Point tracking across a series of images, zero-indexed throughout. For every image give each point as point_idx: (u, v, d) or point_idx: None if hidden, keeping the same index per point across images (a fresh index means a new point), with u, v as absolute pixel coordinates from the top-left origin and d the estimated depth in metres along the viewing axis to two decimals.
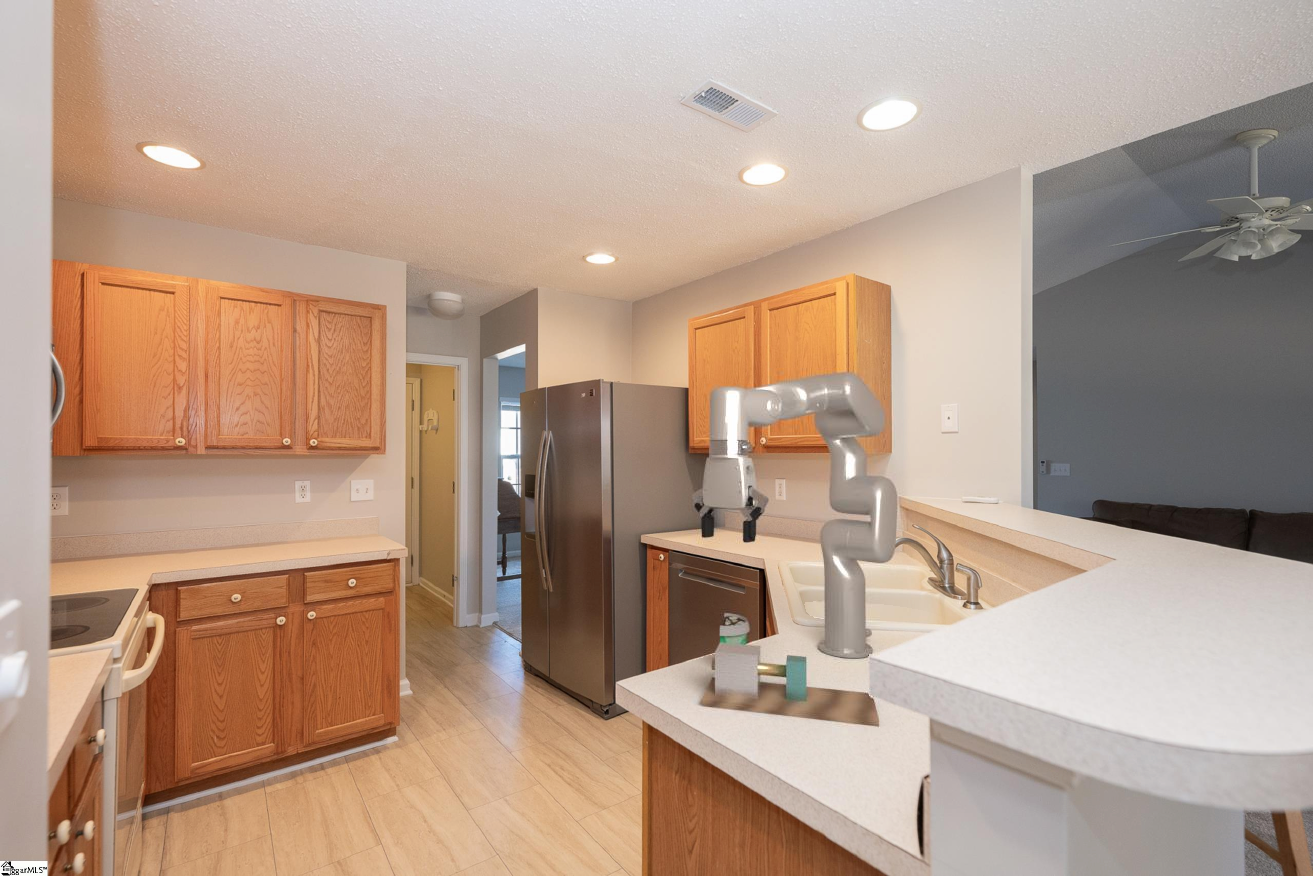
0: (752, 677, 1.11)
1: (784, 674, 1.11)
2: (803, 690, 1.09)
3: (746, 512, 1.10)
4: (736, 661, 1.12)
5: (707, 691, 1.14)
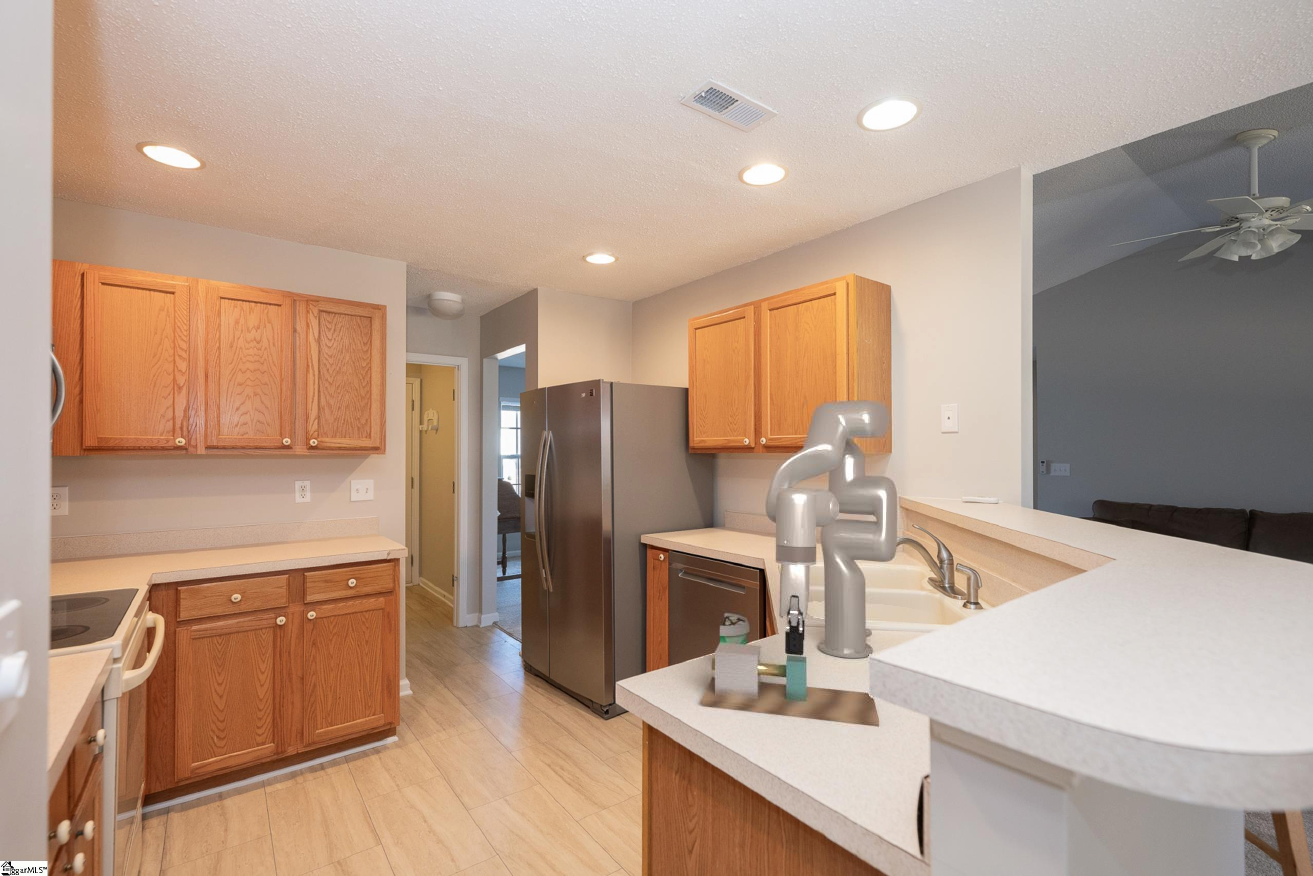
0: (752, 677, 1.11)
1: (784, 674, 1.11)
2: (803, 690, 1.09)
3: None
4: (736, 661, 1.12)
5: (707, 691, 1.14)
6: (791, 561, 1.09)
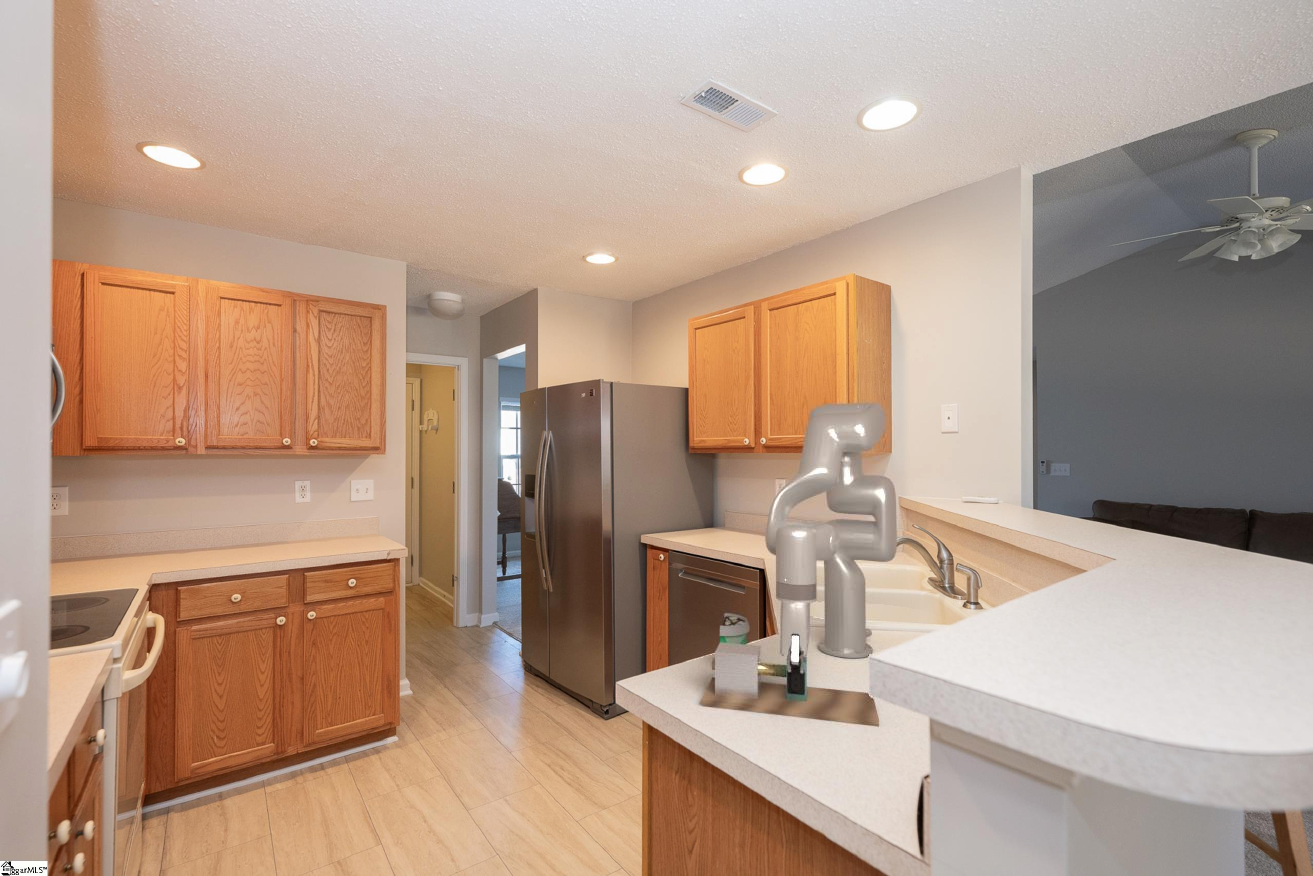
0: (752, 677, 1.11)
1: (784, 674, 1.11)
2: None
3: None
4: (736, 661, 1.12)
5: (707, 691, 1.14)
6: (791, 599, 1.09)
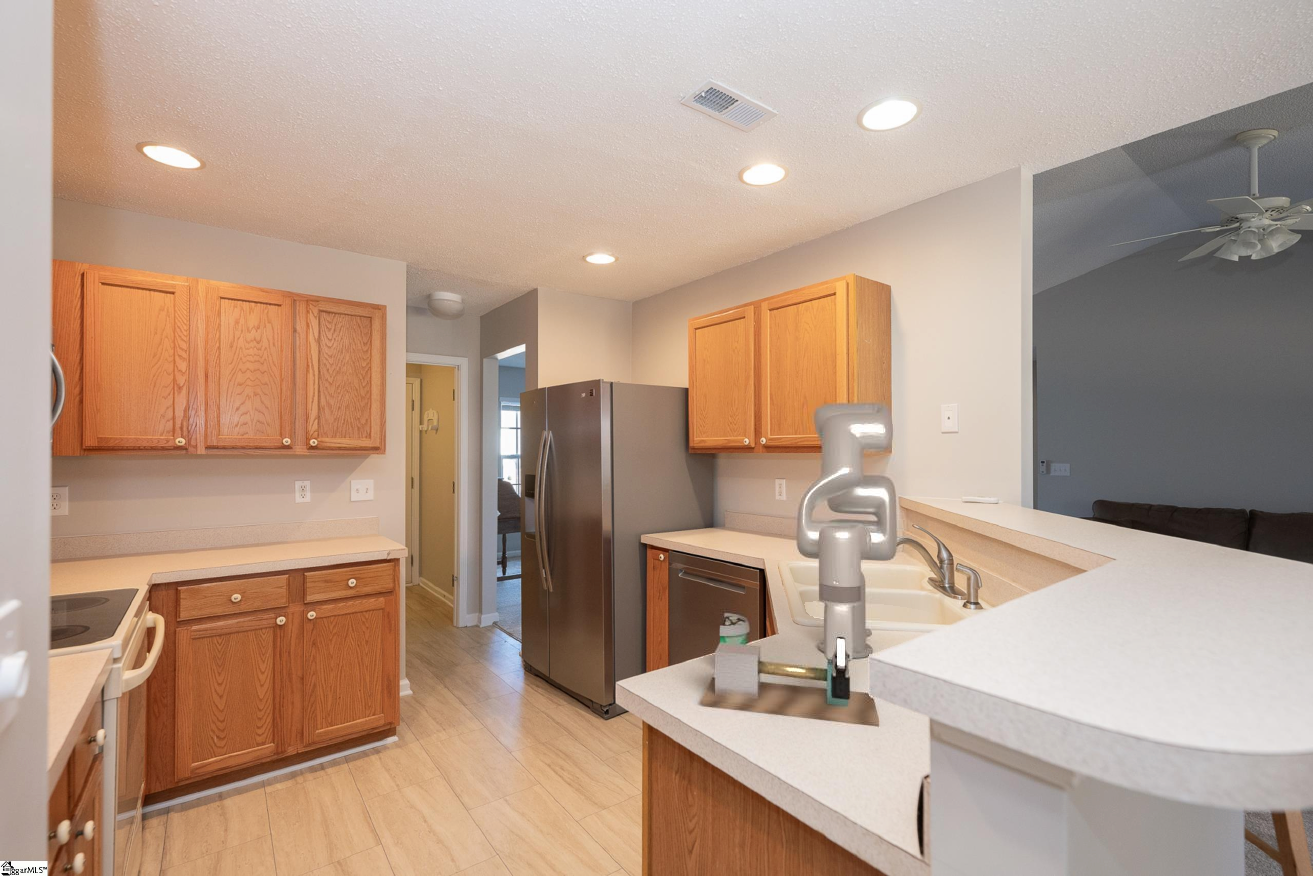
0: (752, 677, 1.11)
1: (825, 678, 1.09)
2: None
3: None
4: (736, 661, 1.12)
5: (707, 691, 1.14)
6: (836, 601, 1.07)
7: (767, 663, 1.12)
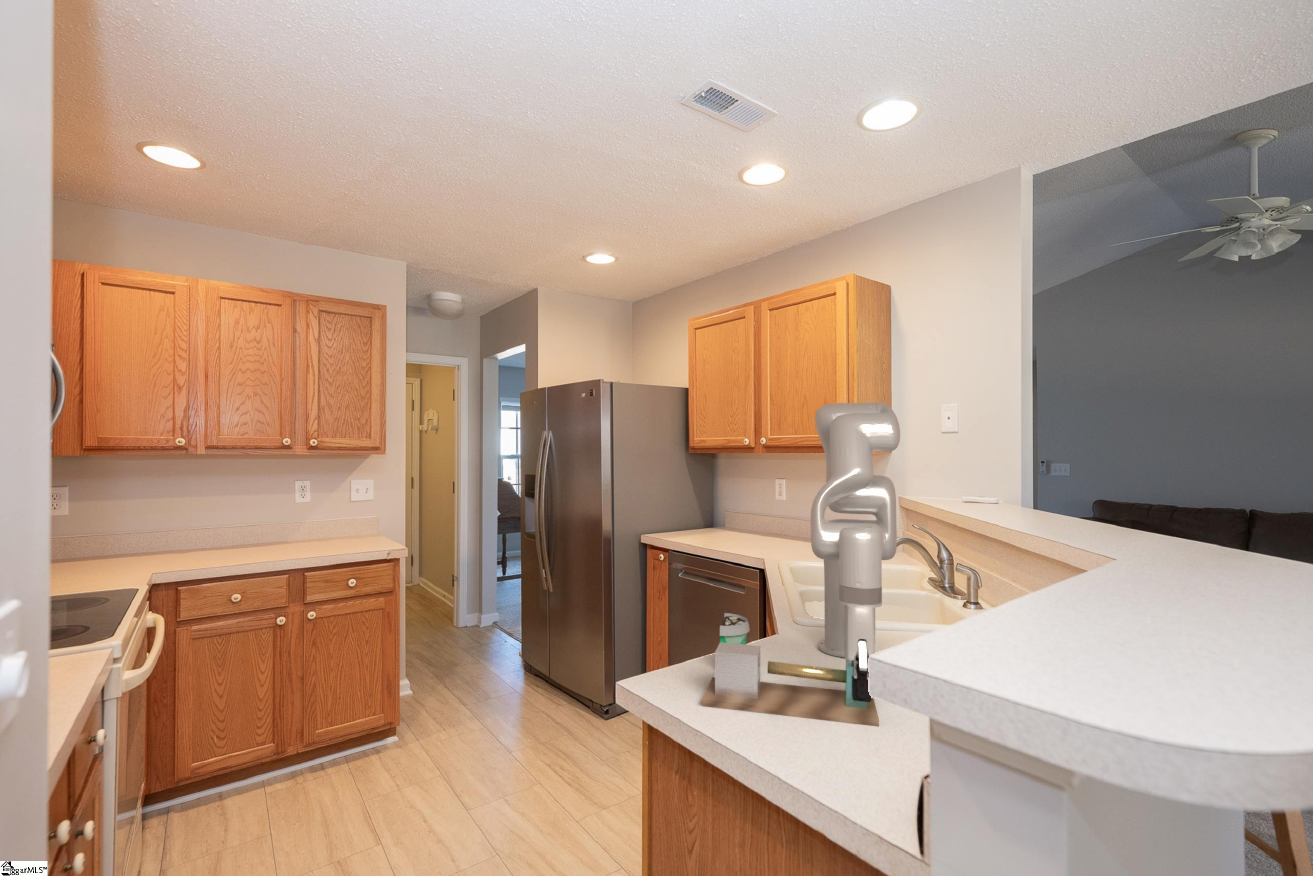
0: (752, 677, 1.11)
1: (844, 679, 1.08)
2: None
3: None
4: (736, 661, 1.12)
5: (707, 691, 1.14)
6: (857, 603, 1.06)
7: (785, 664, 1.12)
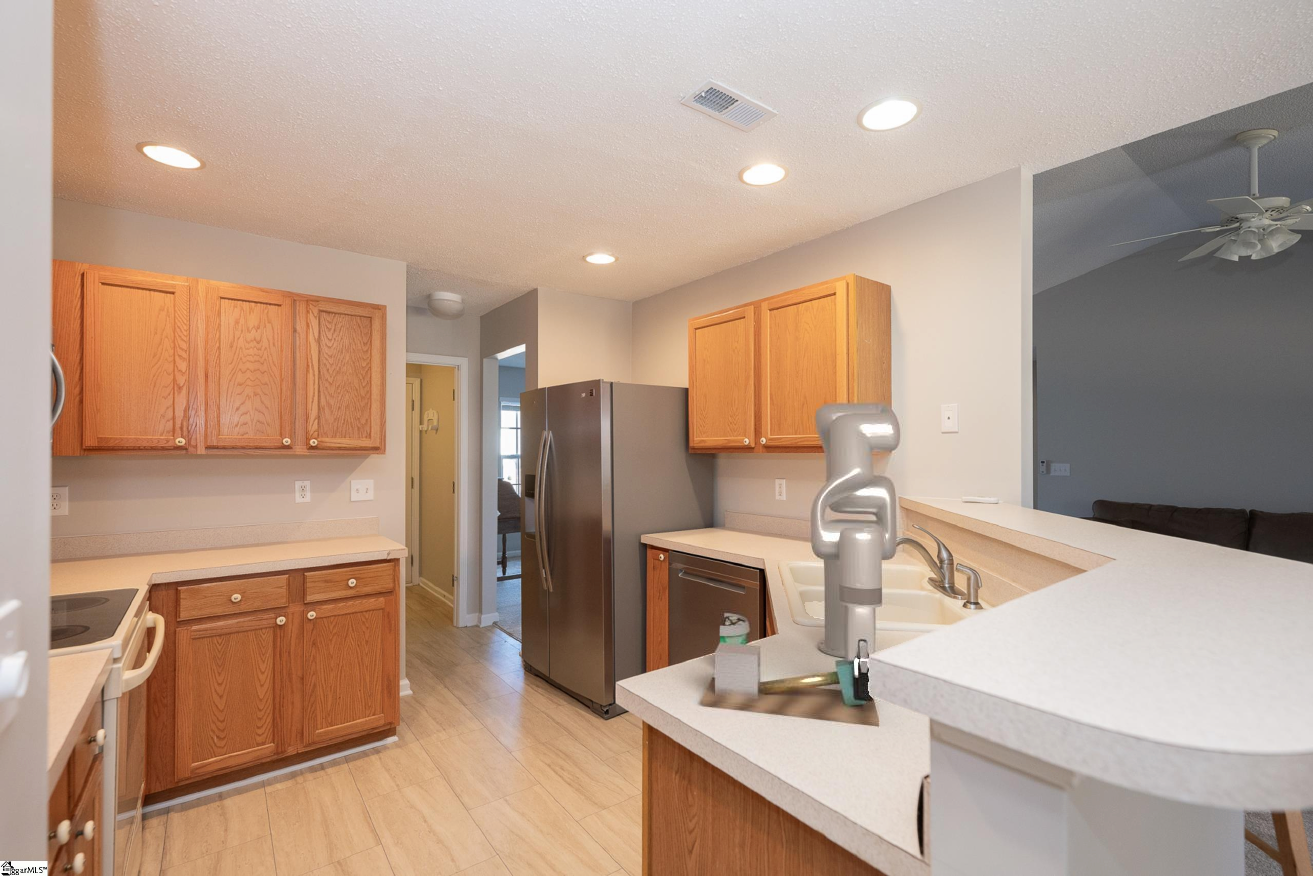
0: (752, 677, 1.11)
1: (837, 681, 1.09)
2: None
3: None
4: (736, 661, 1.12)
5: (707, 691, 1.14)
6: (858, 603, 1.06)
7: (779, 681, 1.12)
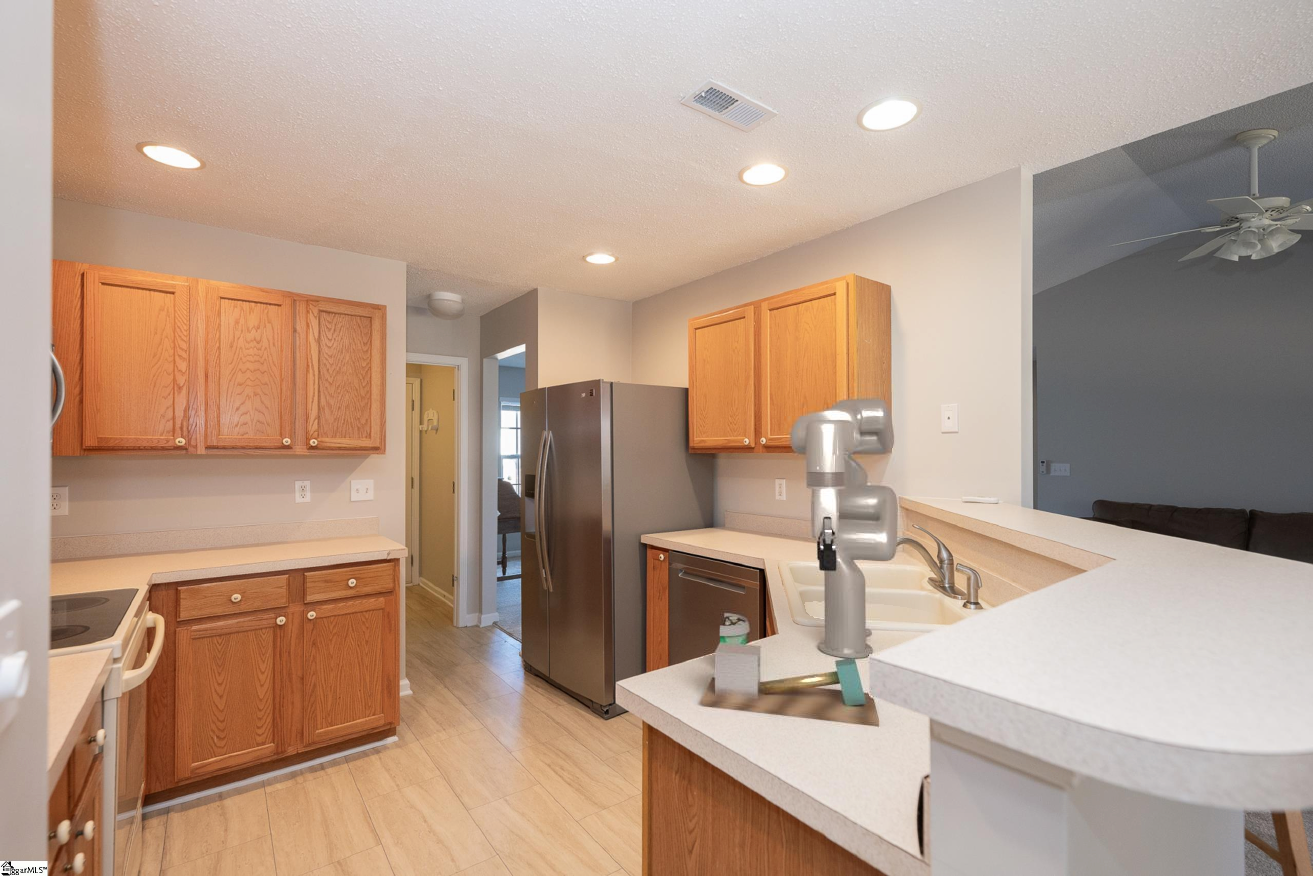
0: (752, 677, 1.11)
1: (837, 681, 1.09)
2: (860, 692, 1.07)
3: None
4: (736, 661, 1.12)
5: (707, 691, 1.14)
6: (823, 486, 1.17)
7: (779, 681, 1.12)
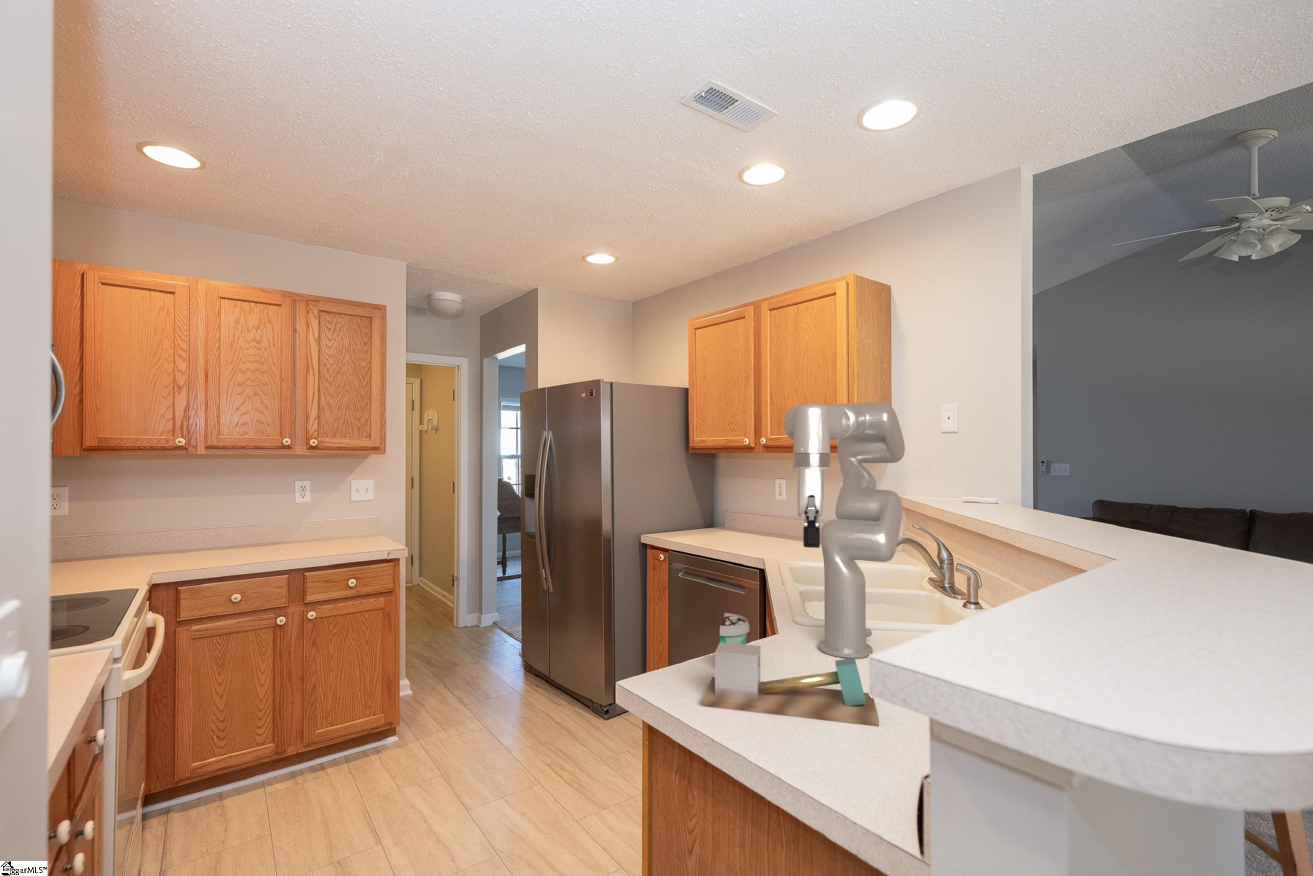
0: (752, 677, 1.11)
1: (837, 681, 1.09)
2: (860, 692, 1.07)
3: None
4: (736, 661, 1.12)
5: (707, 691, 1.14)
6: (808, 466, 1.21)
7: (779, 681, 1.12)
